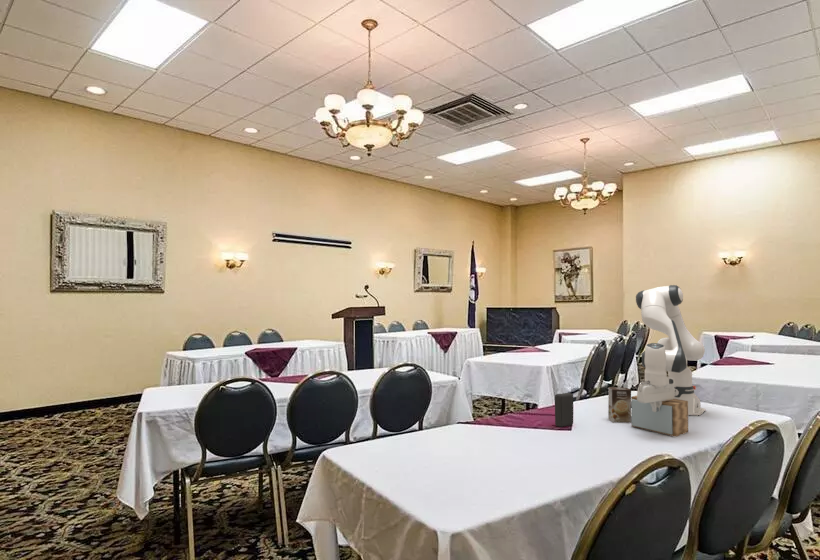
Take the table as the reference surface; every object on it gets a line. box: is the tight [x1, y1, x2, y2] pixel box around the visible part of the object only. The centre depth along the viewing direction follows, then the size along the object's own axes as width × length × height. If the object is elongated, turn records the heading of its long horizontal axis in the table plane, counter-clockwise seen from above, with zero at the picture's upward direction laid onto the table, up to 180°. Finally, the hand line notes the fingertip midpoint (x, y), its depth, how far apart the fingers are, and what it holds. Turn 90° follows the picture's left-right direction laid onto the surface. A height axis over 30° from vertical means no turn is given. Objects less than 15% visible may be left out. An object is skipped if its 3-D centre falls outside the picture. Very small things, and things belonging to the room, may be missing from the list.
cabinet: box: [631, 395, 689, 438], centre depth 227 cm, size 12×20×14 cm, turn 36°
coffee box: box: [607, 386, 632, 424], centre depth 241 cm, size 9×6×16 cm
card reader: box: [554, 392, 574, 428], centre depth 233 cm, size 9×4×15 cm, turn 119°
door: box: [630, 399, 673, 434], centre depth 223 cm, size 1×19×12 cm, turn 36°
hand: (655, 411), depth 218 cm, fingers closed
